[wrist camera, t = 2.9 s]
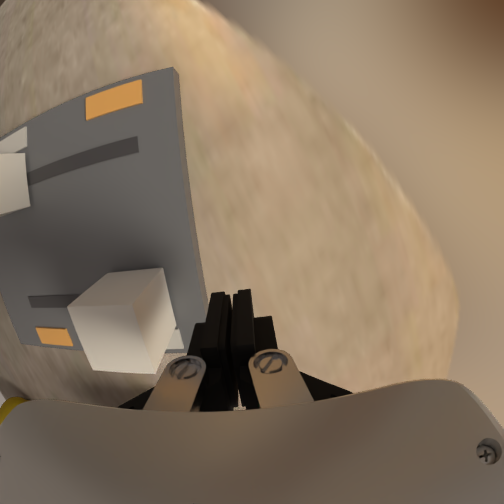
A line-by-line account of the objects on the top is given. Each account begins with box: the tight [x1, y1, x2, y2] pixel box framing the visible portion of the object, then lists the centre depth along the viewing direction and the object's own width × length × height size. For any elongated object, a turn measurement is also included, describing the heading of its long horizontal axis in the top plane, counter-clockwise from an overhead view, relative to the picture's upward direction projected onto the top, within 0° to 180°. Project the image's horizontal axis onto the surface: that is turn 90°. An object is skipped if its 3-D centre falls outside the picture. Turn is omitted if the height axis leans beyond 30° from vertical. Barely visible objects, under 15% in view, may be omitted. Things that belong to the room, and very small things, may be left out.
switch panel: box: [0, 67, 209, 353], centre depth 16 cm, size 20×18×2 cm
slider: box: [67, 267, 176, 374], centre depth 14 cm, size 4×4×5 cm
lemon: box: [0, 397, 30, 425], centre depth 19 cm, size 6×6×8 cm
